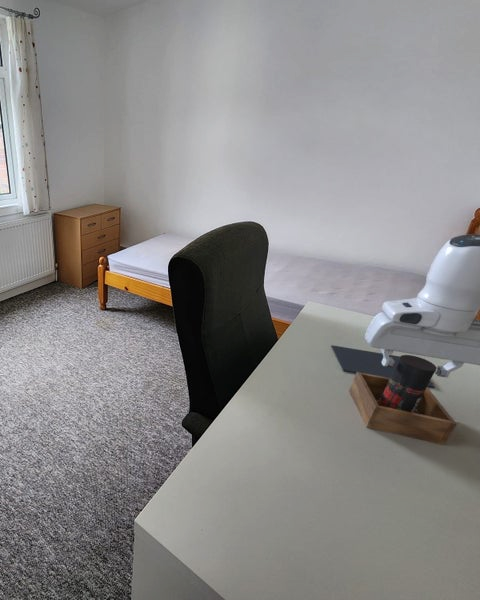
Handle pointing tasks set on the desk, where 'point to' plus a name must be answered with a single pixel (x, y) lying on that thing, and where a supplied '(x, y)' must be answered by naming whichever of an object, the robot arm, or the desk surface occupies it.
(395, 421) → the wooden box
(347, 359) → the desk mat
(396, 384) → the deodorant
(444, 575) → the desk surface
